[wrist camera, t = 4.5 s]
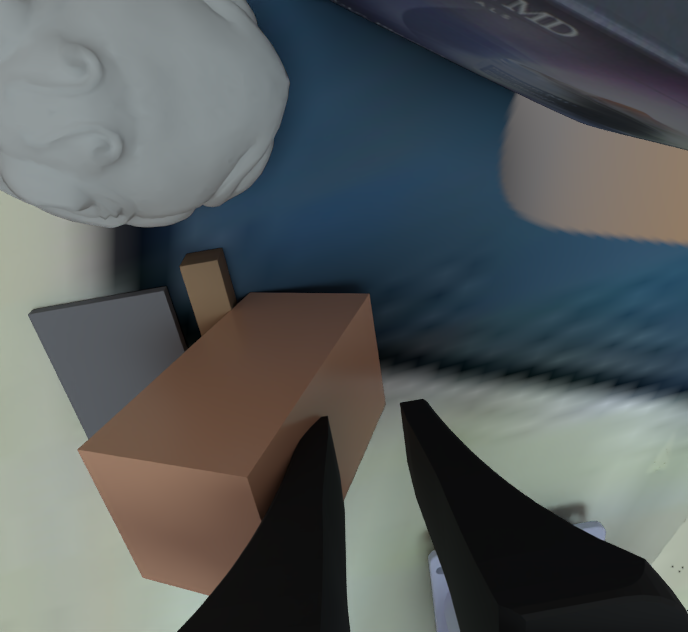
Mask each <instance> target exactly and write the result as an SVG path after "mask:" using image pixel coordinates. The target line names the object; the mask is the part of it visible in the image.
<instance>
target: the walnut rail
mask: <svg viewBox="0 0 688 632" xmlns="http://www.w3.org/2000/svg"><path fill="white" fill-rule="evenodd" d="M180 270H181V273H182V276H183V279H184V283H185V286H186V289H187V292H188V295H189V298H190V301H191V304H192V307H193V311H194V314H195V317H196V320H197V323H198V326H199V329H200V332H201V336H203V335H204V334H205V333H206V332H207V331H208V330H210V329H211V328H212V327H213V326H214V325H215V324H216V323H217V322H218V321H219V320H221V319H222V318H223V317H224V316H225V315H226V314H227V313H228V312H229V311H230V310H232V309H233V308H234V307H235V306H236V305H237V300H236V296H235V293H234V289H233V285H232V282H231V278H230V275H229V271H228V267H227V264H226V260H225V256H224V253H223V249H222V248H217V249H212V250H206V251H200V252H195V253H189V254H186V256H185V258H184V259H183V261H182V263H181V265H180Z"/></svg>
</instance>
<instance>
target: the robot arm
mask: <svg viewBox="0 0 688 632" xmlns="http://www.w3.org/2000/svg"><path fill="white" fill-rule="evenodd" d="M400 407H401V415H402V423H403V431H404V439H405V447H406V455H407V462H408V467H409V471H410V475H411V479H412V483H413V487H414V491H415V495H416V498H417V501H418V504H419V507H420V510H421V512H422V515H423V518H424V521H425V523H426V526H427V529H428V532H429V534H430V537H431V540H432V543H433V545H434V548H435V550H433V551H432V552H431V553H430V554H429V556H428V562H429V571H430V579H431V588H432V596H433V605H434V614H435V622H436V631H437V632H688V613H687V611H686V609H685V608H684V606H683V605H682V604H681V602H680V601H679V599H678V598H677V596H676V595H675V594H674V592H673V591H672V590H671V588H670V587H669V586H668V585H667V584H666V582H665V581H664V580H663V579H662V578H661V577H660V575H659V574H658V573H657V572H656V571H655V570H654V569H653V568H652V566H651V565H650V564H649V563H648V562H647V561H646V560H645V559H644V558H642V557H639V556H637V555H635V554H633V553H630V552H628V551H626V550H624V549H621V548H619V547H617V546H615V545H612V544H610V543H608V542H606V541H605V535H606V531H605V528H604V527H603V525H602V524H601V523H600V522H598V521H589V522H584V523H578V524H570V523H569V522H567V521H565V520H564V519H562V518H560V517H559V516H557V515H555V514H554V513H552V512H550V511H549V510H547V509H545V508H544V507H542V506H541V505H539V504H538V503H536V502H535V501H533V500H532V499H530V498H529V497H527V496H526V495H524V494H523V493H522V492H520V491H519V490H518V489H516V488H515V487H513V486H512V485H511V484H509V483H508V482H507V481H506V480H504V479H503V478H502V477H501V476H499V475H498V474H497V473H496V472H494V471H493V470H492V469H491V468H490V467H489V466H487V465H486V464H485V463H484V462H483V461H482V460H481V459H479V458H478V457H477V456H476V455H475V454H474V453H473V452H472V451H471V450H470V449H469V448H468V447H467V446H466V445H465V444H464V443H463V442H462V441H461V440H460V439H459V438H458V437H457V436H456V435H455V434H454V433H453V432H452V431H451V430H450V429H449V428H448V427H447V425H446V424H445V423H444V422H443V421H442V420H441V419H440V417H439V416H438V415H437V414H436V413H435V411H434V410H433V409H432V408H431V406H430V405H429V403H428V402H427V401H425V400H424V399H419V400H414V401H408V402H402V403H400ZM177 632H350V625H349V616H348V605H347V584H346V542H345V509H344V501H343V493H342V485H341V478H340V472H339V467H338V462H337V457H336V452H335V448H334V443H333V438H332V433H331V428H330V424H329V419H328V416H323V417H320V418H319V419H318V420H317V421H316V422H315V423H314V424H313V425H312V426H311V427H310V428H309V430H308V431H307V432H306V433H305V434H304V435H303V437H302V438H301V439H300V441H299V443H298V444H297V446H296V448H295V450H294V452H293V455H292V457H291V460H290V462H289V465H288V467H287V470H286V472H285V475H284V477H283V480H282V482H281V484H280V486H279V488H278V490H277V492H276V494H275V496H274V499H273V501H272V503H271V505H270V507H269V509H268V510H267V512H266V514H265V516H264V518H263V520H262V521H261V523H260V525H259V527H258V528H257V530H256V532H255V533H254V535H253V537H252V538H251V540H250V541H249V543H248V544H247V546H246V547H245V549H244V550H243V552H242V553H241V555H240V556H239V558H238V559H237V561H236V562H235V563H234V565H233V566H232V568H231V569H230V570H229V572H228V573H227V574H226V576H225V577H224V578H223V579H222V581H221V582H220V583H219V584H218V586H217V587H216V588H215V589H214V591H213V592H212V593H211V594H210V596H209V597H208V598H207V599H206V601H205V602H204V603H203V604H202V605H201V607H200V608H199V609H198V610H197V611H196V612H195V613H194V614H193V615H192V617H191V618H190V619H189V620H188V621H187V622H186V623H185V624H184V625H183V626H182V627H181V628H180V629H179V630H178V631H177Z"/></svg>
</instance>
